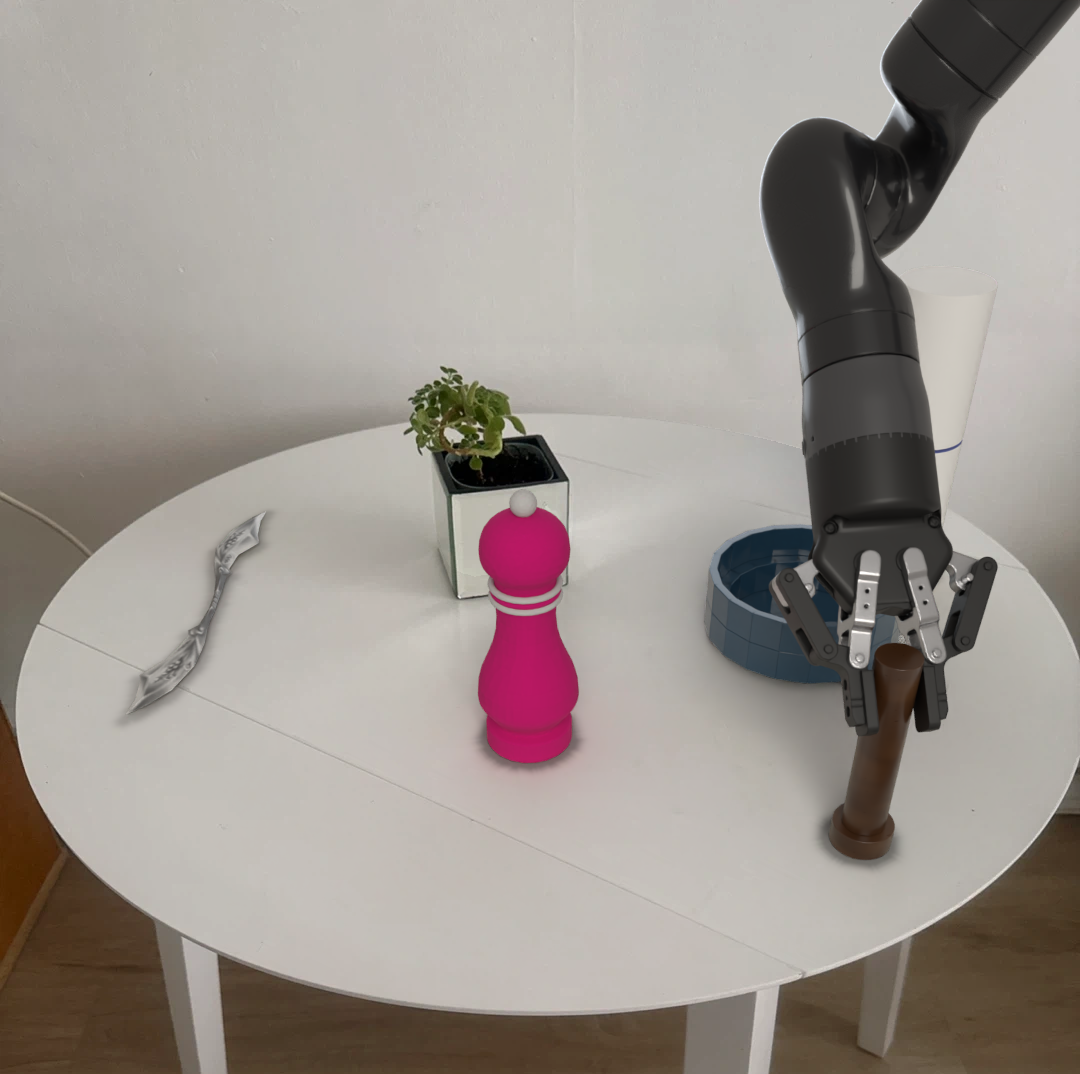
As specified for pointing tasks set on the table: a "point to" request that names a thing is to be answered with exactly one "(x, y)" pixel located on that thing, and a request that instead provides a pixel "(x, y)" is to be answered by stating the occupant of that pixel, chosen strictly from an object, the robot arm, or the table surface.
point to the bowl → (770, 605)
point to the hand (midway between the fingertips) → (898, 731)
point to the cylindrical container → (950, 352)
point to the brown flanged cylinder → (878, 757)
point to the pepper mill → (526, 634)
